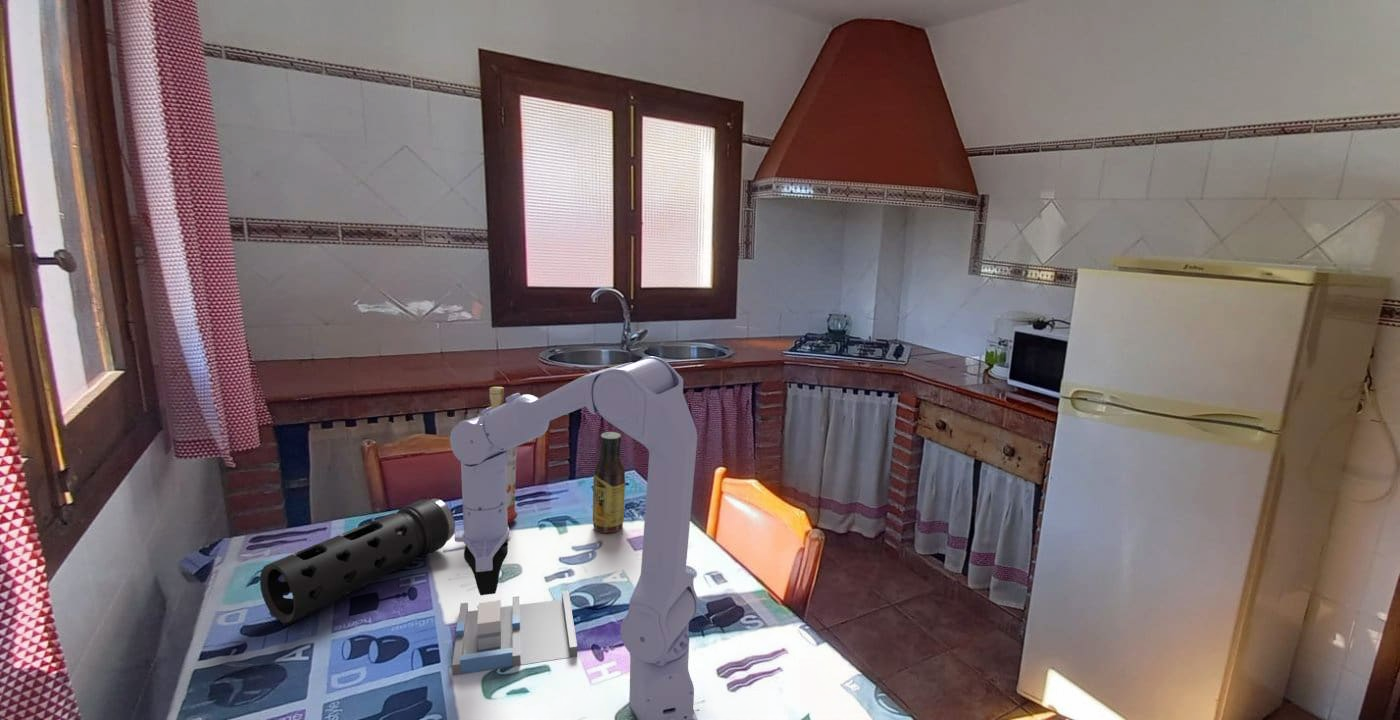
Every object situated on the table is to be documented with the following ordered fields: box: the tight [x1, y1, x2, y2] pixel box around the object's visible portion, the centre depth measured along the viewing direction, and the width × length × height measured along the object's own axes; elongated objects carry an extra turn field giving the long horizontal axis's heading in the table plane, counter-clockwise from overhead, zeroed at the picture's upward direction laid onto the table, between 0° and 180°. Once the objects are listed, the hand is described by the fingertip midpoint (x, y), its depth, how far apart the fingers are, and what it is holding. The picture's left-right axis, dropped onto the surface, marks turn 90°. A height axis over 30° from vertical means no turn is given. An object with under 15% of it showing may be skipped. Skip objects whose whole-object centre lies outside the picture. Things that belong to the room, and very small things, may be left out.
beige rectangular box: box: [477, 600, 502, 650], centre depth 87 cm, size 5×3×4 cm, turn 18°
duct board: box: [451, 589, 578, 677], centre depth 88 cm, size 14×16×3 cm
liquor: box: [489, 386, 518, 526], centre depth 121 cm, size 7×7×28 cm
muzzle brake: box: [259, 498, 456, 626], centre depth 100 cm, size 10×28×10 cm, turn 152°
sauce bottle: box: [592, 431, 626, 534], centre depth 121 cm, size 7×6×20 cm
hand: (488, 591), depth 86 cm, fingers closed
